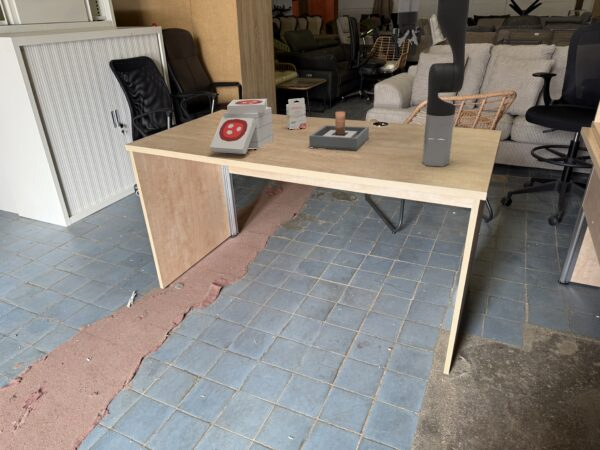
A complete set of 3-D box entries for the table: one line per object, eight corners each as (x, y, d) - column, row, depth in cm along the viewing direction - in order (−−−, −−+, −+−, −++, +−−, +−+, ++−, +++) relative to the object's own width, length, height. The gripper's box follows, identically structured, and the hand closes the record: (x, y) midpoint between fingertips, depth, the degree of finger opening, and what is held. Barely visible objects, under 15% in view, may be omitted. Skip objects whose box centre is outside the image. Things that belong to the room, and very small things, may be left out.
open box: (356, 151, 167) (356, 138, 165) (309, 147, 174) (309, 135, 172) (368, 138, 184) (368, 127, 182) (325, 136, 191) (325, 125, 189)
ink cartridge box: (303, 126, 211) (302, 96, 204) (306, 128, 206) (305, 97, 200) (287, 128, 209) (285, 97, 203) (289, 130, 205) (287, 99, 198)
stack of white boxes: (207, 156, 170) (200, 110, 162) (242, 138, 195) (238, 97, 187) (249, 159, 163) (244, 112, 155) (280, 140, 188) (277, 98, 180)
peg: (343, 142, 176) (343, 113, 171) (334, 141, 178) (334, 112, 173) (346, 139, 180) (346, 111, 175) (337, 139, 181) (337, 111, 176)
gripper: (401, 10, 155) (399, 58, 162) (428, 9, 162) (424, 55, 169) (387, 11, 161) (385, 57, 168) (413, 10, 168) (410, 54, 175)
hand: (405, 56), depth 168 cm, fingers open, 8 cm apart
